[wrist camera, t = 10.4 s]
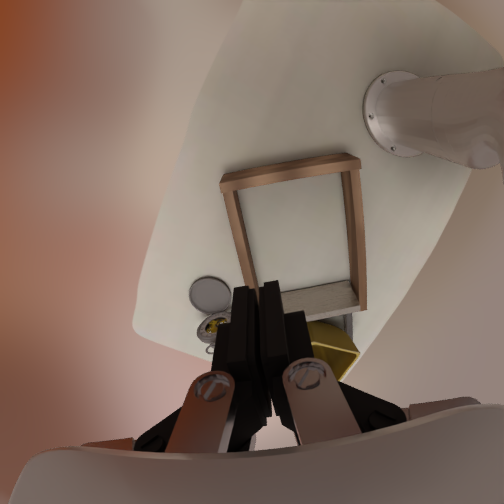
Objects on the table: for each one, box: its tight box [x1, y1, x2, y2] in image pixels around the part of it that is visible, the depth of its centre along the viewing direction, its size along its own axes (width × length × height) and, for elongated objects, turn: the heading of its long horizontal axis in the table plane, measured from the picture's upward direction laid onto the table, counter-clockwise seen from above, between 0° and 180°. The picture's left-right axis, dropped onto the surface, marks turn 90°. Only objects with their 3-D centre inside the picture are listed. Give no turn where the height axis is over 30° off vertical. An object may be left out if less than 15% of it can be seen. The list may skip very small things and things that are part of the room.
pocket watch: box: [189, 278, 231, 354], centre depth 45 cm, size 8×8×10 cm
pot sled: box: [281, 280, 360, 341], centre depth 48 cm, size 14×15×7 cm
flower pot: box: [307, 320, 360, 381], centre depth 48 cm, size 9×9×9 cm
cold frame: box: [219, 153, 367, 311], centre depth 42 cm, size 17×23×6 cm
